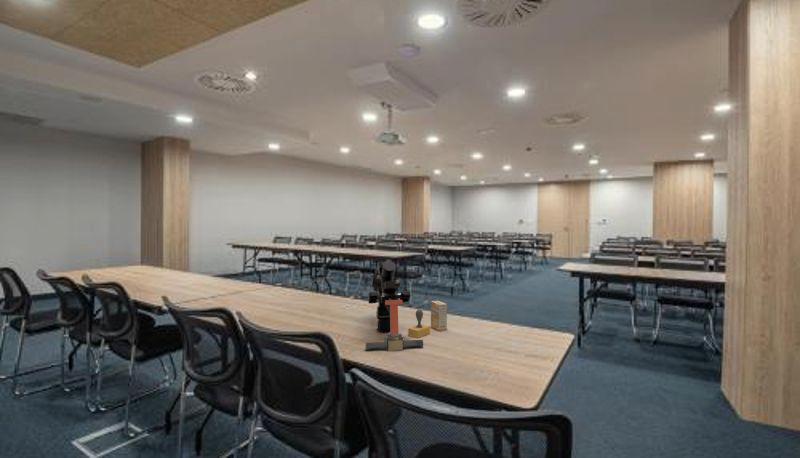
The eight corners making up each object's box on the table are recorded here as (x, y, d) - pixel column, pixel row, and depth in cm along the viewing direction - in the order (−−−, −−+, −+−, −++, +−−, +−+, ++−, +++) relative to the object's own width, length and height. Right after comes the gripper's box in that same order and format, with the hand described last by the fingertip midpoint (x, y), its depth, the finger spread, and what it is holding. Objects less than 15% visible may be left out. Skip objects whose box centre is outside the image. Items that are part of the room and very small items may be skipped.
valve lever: (385, 337, 162) (385, 300, 164) (402, 336, 163) (401, 299, 165) (386, 338, 160) (385, 300, 162) (403, 337, 161) (402, 299, 163)
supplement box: (430, 326, 194) (430, 301, 193) (438, 325, 196) (438, 300, 195) (438, 331, 186) (438, 304, 186) (447, 330, 188) (447, 303, 188)
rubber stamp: (417, 338, 175) (417, 312, 175) (407, 336, 179) (407, 310, 179) (430, 333, 183) (430, 308, 182) (420, 331, 187) (420, 306, 186)
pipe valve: (365, 348, 162) (365, 334, 162) (421, 344, 166) (421, 331, 166) (366, 352, 157) (366, 338, 157) (423, 348, 161) (423, 335, 161)
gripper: (368, 274, 173) (371, 304, 162) (409, 273, 176) (415, 302, 166) (367, 288, 181) (369, 317, 170) (406, 287, 184) (411, 316, 174)
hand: (391, 313), depth 170 cm, fingers closed
